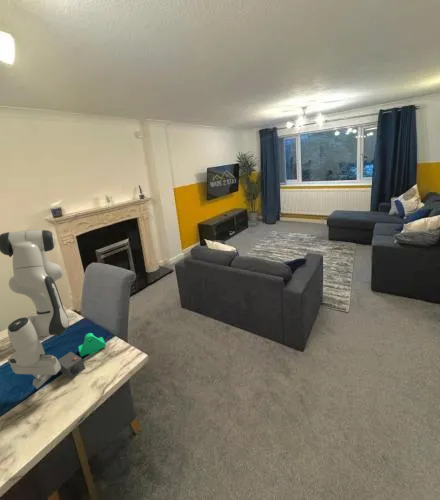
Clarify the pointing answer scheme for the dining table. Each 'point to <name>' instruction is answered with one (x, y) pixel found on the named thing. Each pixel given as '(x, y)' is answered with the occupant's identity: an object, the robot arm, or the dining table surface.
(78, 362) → the camera housing
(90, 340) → the camera mount
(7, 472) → the dining table surface
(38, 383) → the side door
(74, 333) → the dining table surface
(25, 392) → the dining table surface
